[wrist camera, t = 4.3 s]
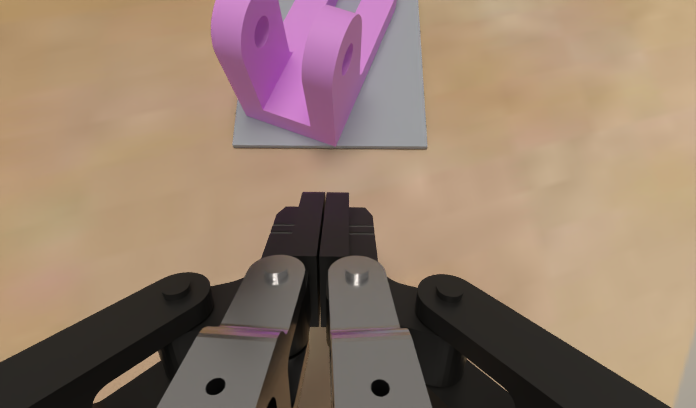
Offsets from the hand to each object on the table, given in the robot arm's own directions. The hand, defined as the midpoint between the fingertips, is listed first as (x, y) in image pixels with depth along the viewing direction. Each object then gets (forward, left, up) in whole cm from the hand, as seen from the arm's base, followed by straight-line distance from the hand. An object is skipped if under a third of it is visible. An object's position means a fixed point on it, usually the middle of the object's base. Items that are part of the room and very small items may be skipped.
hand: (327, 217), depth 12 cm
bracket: (0, +13, -7) cm, 15 cm away
